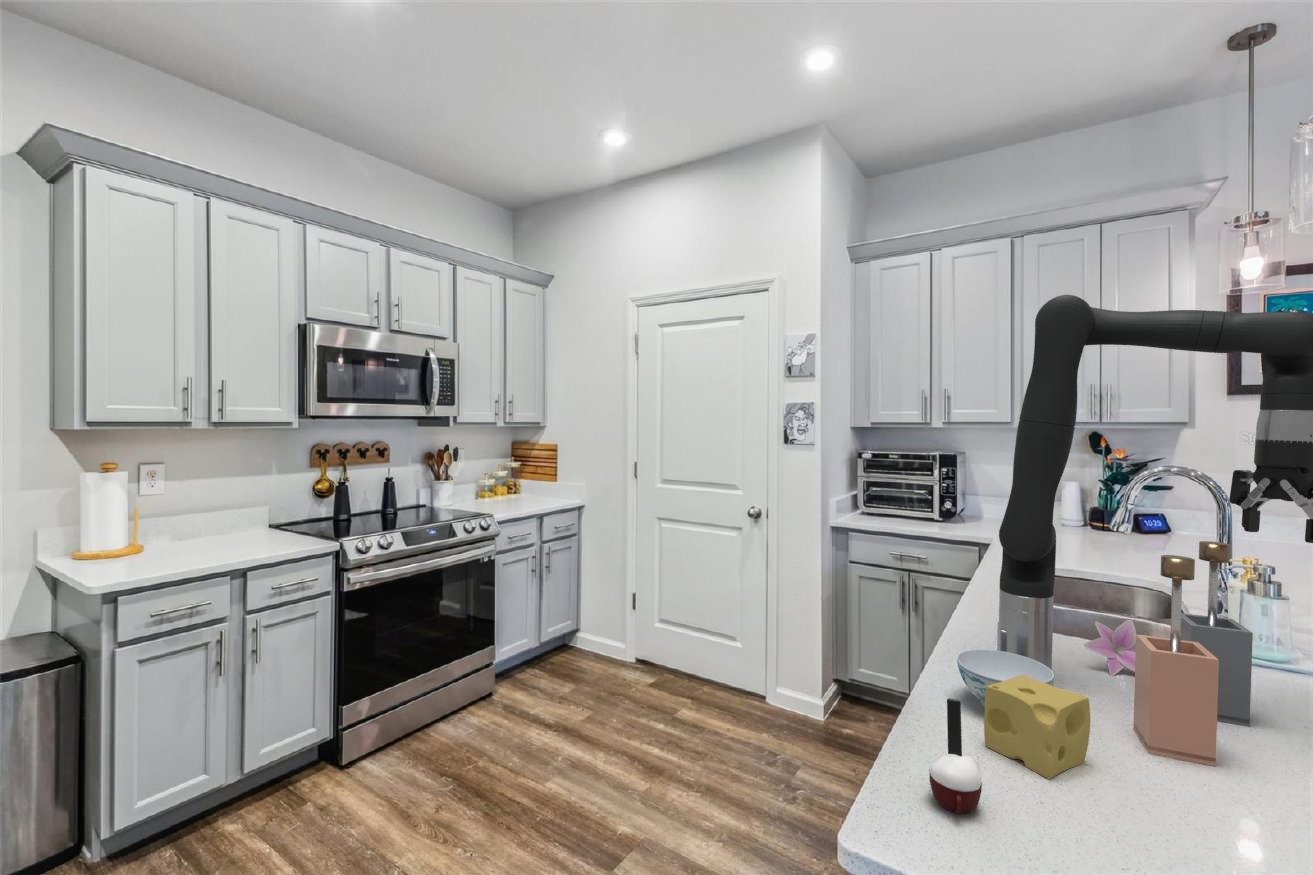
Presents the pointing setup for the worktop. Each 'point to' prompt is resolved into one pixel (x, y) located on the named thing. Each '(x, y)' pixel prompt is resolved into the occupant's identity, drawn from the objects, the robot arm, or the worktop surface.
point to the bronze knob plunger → (1176, 591)
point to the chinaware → (997, 669)
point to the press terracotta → (1176, 699)
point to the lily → (1116, 645)
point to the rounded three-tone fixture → (956, 769)
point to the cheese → (1037, 724)
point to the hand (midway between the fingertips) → (1281, 537)
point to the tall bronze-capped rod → (1213, 572)
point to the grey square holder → (1226, 663)
